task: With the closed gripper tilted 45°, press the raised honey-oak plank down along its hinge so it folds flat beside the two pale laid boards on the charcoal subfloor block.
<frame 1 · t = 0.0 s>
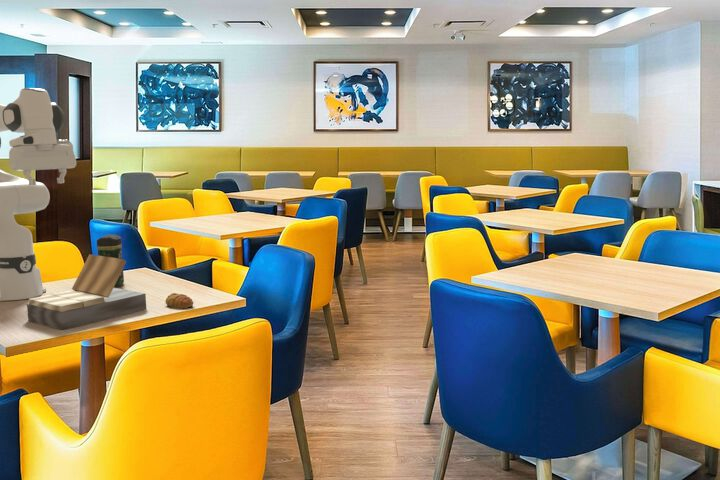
hand: (47, 184, 217), 39 cm above the table, tool pointing down, fingers open, 8 cm apart
pastry: (180, 306, 219), on the table
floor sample: (89, 314, 209), on the table
plank: (98, 275, 210), point 11 cm above the table, hinge at 55.0°
coffee jar: (112, 286, 251), on the table
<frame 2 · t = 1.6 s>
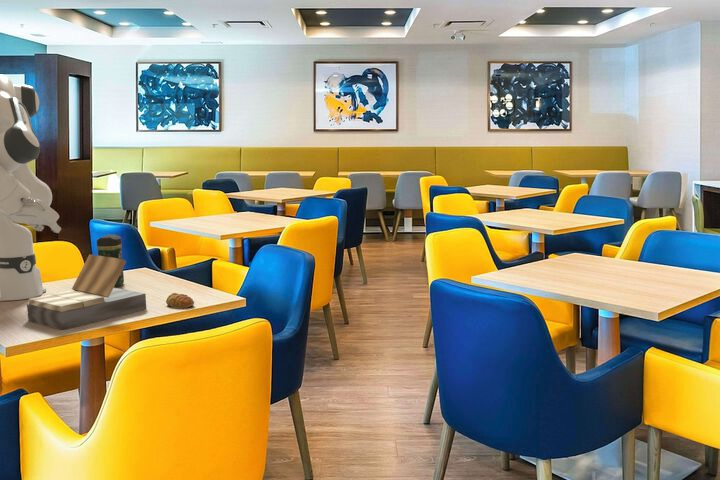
hand: (49, 230, 196), 27 cm above the table, tool tilted 45°, fingers open, 7 cm apart
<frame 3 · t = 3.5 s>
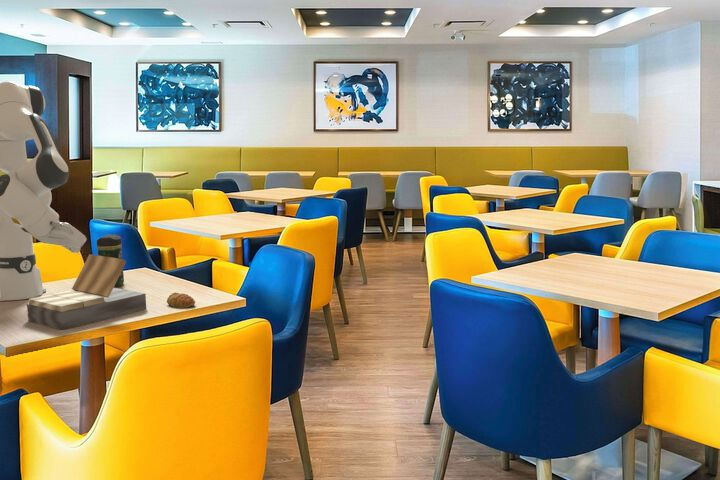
hand: (76, 251, 204), 20 cm above the table, tool tilted 45°, fingers closed
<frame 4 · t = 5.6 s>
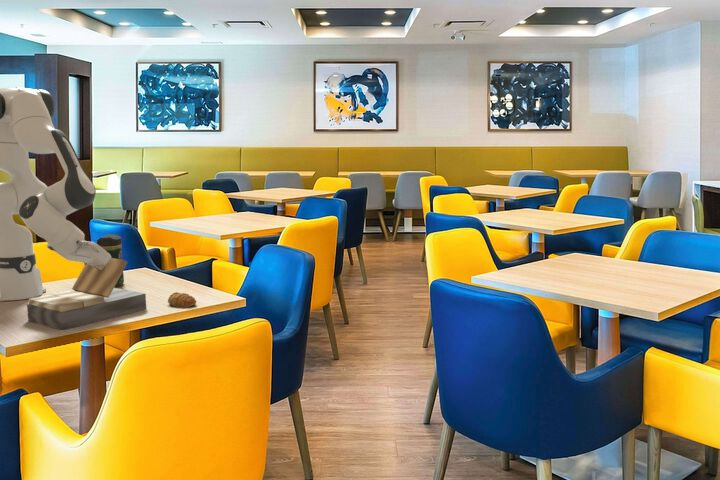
hand: (100, 267, 211), 14 cm above the table, tool tilted 45°, fingers closed, pressing on plank
plank: (99, 275, 210), point 11 cm above the table, hinge at 52.7°, touching gripper
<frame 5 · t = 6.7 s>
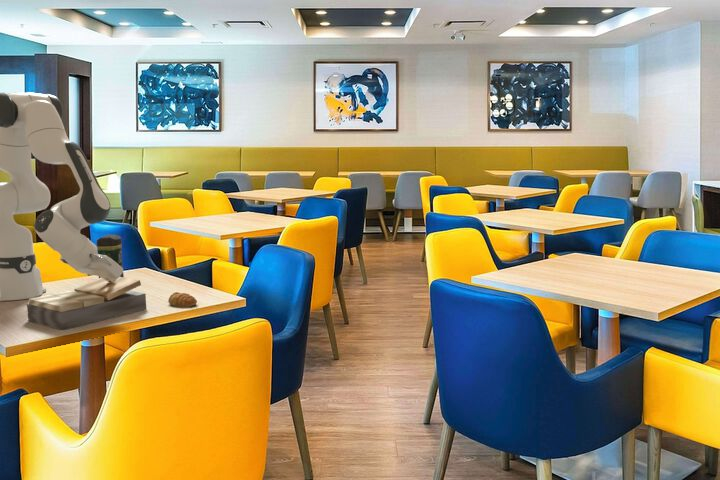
hand: (112, 280, 214), 9 cm above the table, tool tilted 45°, fingers closed, pressing on plank
plank: (107, 287, 213), point 7 cm above the table, hinge at 12.1°, touching gripper
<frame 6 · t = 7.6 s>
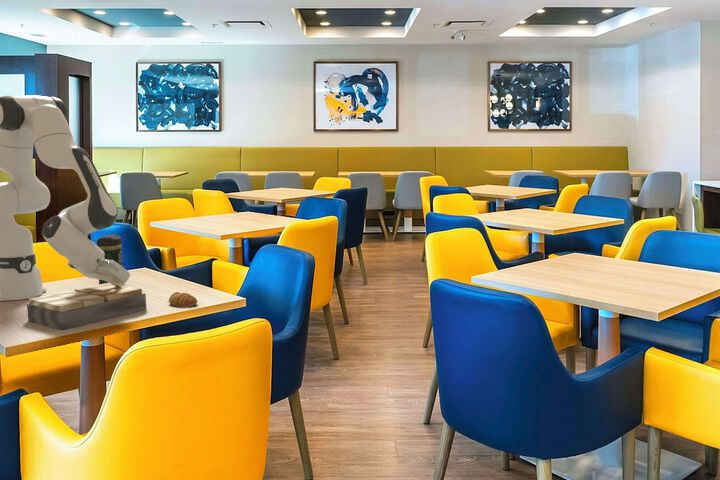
hand: (119, 285, 216), 7 cm above the table, tool tilted 45°, fingers closed, pressing on plank
plank: (108, 291, 213), point 6 cm above the table, hinge at -0.4°, touching gripper
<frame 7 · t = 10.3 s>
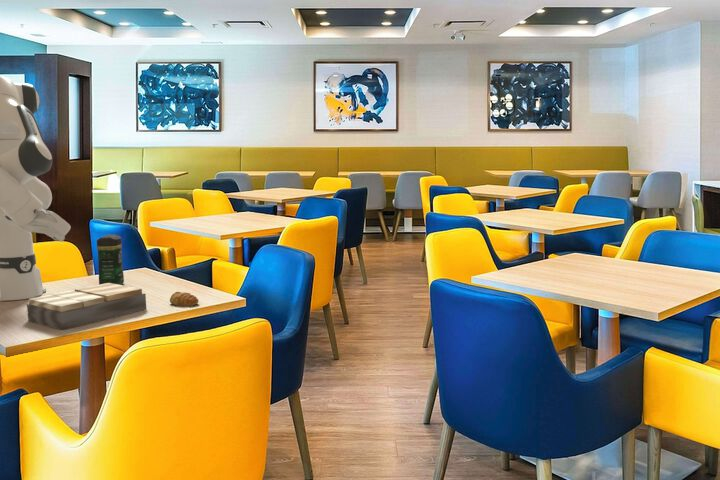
hand: (60, 239, 203), 24 cm above the table, tool tilted 45°, fingers closed
plank: (108, 291, 213), point 6 cm above the table, hinge at -0.5°, touching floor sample
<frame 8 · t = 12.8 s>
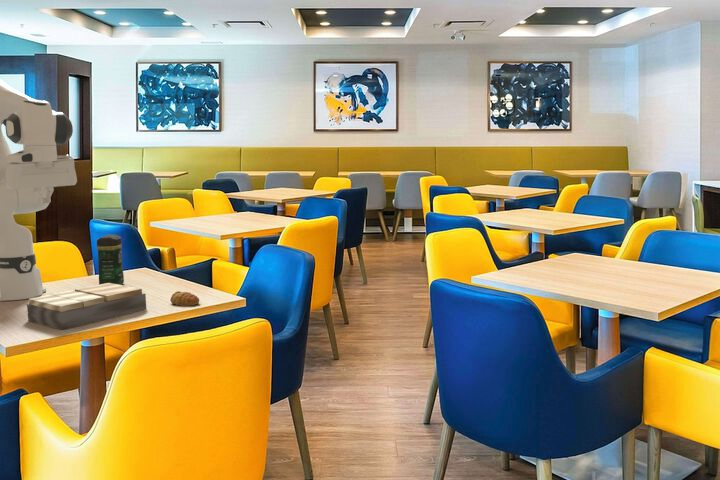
hand: (44, 202, 204), 34 cm above the table, tool pointing down, fingers closed
at the end: plank at +0° (first picture: +55°) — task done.
